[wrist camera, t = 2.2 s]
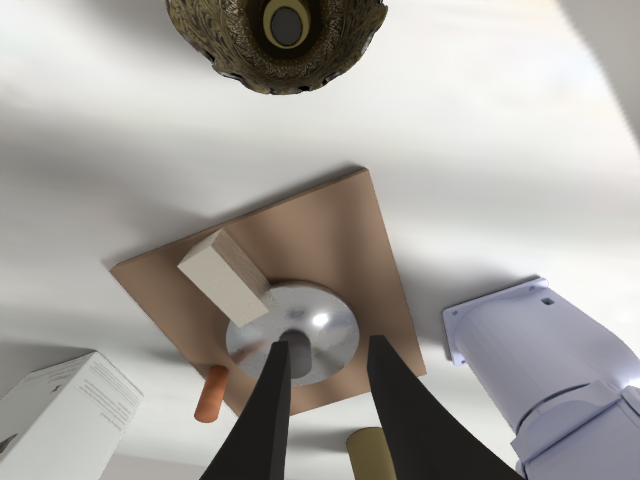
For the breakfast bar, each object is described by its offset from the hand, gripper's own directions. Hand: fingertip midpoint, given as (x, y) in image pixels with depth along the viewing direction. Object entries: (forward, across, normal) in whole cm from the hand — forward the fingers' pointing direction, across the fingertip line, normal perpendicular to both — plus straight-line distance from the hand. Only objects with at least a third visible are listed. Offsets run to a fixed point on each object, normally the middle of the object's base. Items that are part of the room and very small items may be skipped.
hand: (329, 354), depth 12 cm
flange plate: (+9, +3, +5) cm, 11 cm away
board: (+10, +2, +8) cm, 13 cm away
